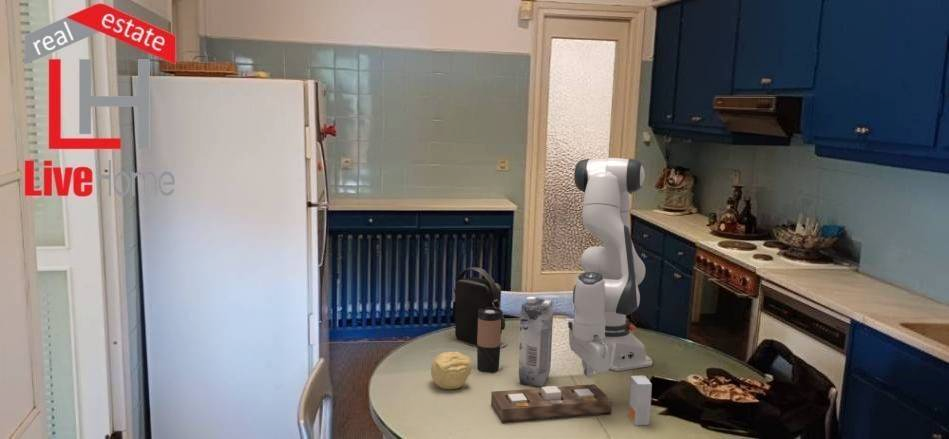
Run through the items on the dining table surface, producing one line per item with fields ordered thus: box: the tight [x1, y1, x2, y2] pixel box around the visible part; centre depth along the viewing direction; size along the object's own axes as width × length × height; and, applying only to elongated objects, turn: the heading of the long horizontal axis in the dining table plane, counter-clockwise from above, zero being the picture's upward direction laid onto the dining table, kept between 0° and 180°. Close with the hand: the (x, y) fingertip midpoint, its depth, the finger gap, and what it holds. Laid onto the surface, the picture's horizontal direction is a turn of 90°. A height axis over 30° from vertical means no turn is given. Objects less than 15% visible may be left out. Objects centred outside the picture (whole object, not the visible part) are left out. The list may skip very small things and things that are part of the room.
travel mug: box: [476, 307, 502, 374], centre depth 222 cm, size 8×8×20 cm
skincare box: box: [628, 375, 653, 426], centre depth 188 cm, size 6×4×12 cm
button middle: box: [540, 385, 561, 401], centre depth 194 cm, size 4×4×3 cm
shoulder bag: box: [445, 266, 507, 349], centre depth 248 cm, size 23×9×28 cm, turn 51°
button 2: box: [574, 389, 594, 399], centre depth 196 cm, size 4×4×3 cm
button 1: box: [508, 393, 527, 404], centre depth 192 cm, size 4×4×3 cm
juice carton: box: [518, 296, 554, 388], centre depth 213 cm, size 9×10×27 cm
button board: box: [490, 383, 613, 424], centre depth 194 cm, size 32×12×4 cm, turn 103°
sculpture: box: [430, 350, 472, 390], centre depth 209 cm, size 12×12×11 cm
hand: (588, 375), depth 196 cm, fingers closed
